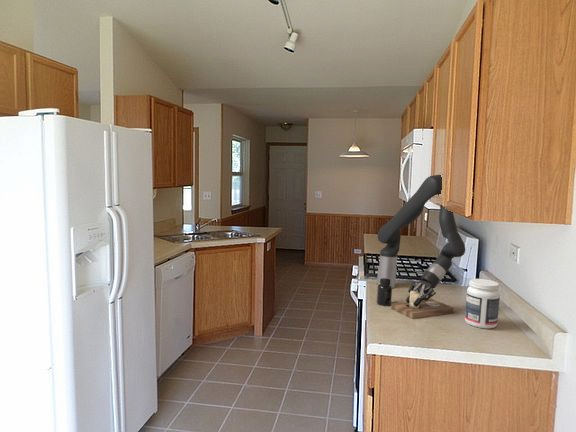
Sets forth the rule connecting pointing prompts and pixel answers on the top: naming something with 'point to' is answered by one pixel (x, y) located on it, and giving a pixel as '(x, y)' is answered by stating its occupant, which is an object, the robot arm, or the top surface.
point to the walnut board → (423, 309)
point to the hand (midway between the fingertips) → (411, 303)
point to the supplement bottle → (384, 292)
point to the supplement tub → (482, 303)
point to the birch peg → (413, 299)
